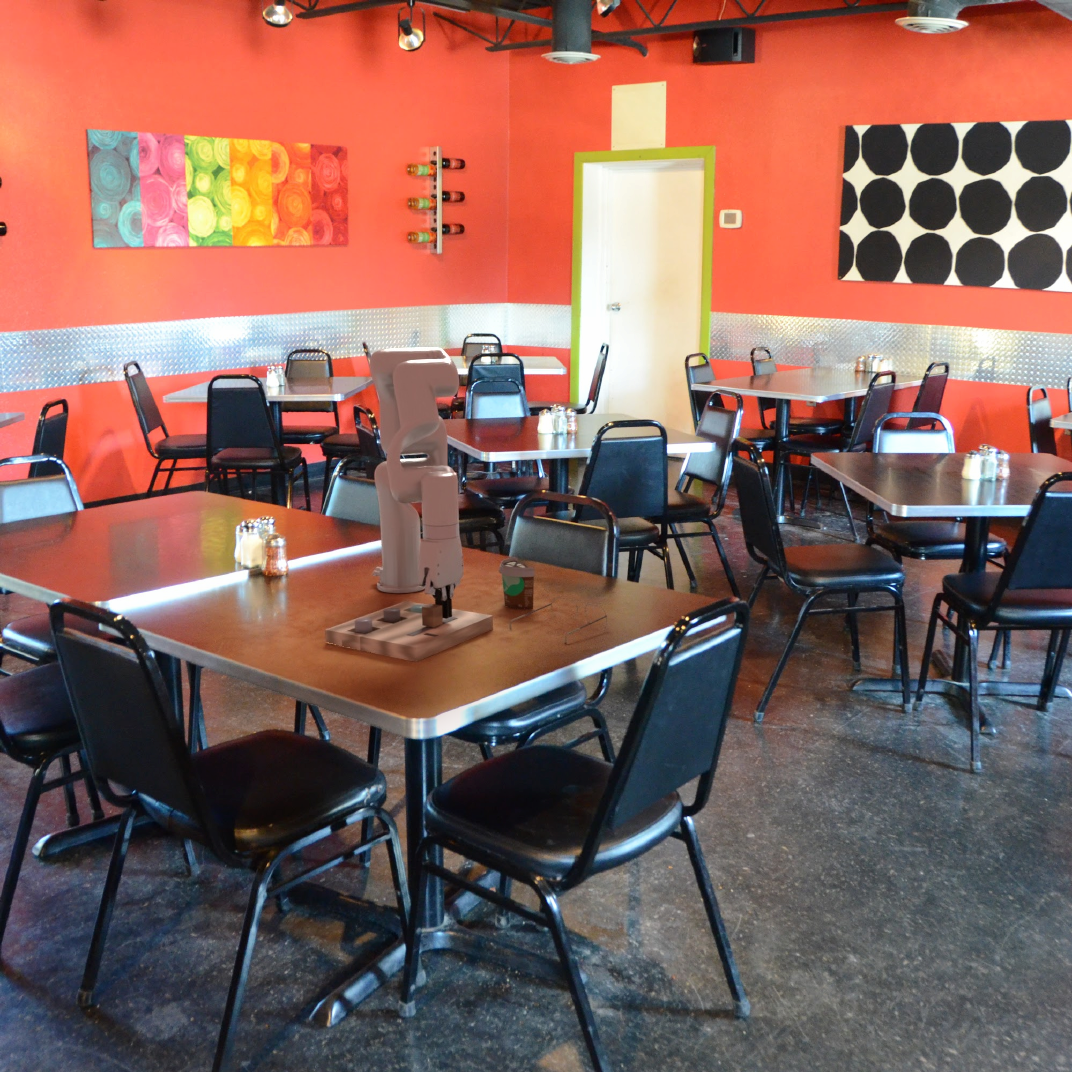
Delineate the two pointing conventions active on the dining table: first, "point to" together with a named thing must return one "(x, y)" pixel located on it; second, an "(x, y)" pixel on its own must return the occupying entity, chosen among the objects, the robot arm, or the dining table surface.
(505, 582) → the food container
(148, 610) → the dining table surface
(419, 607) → the teal button
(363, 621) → the slate button
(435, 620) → the walnut slider
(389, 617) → the charcoal button
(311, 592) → the dining table surface
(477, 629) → the control panel
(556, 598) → the eyeglasses
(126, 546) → the dining table surface
